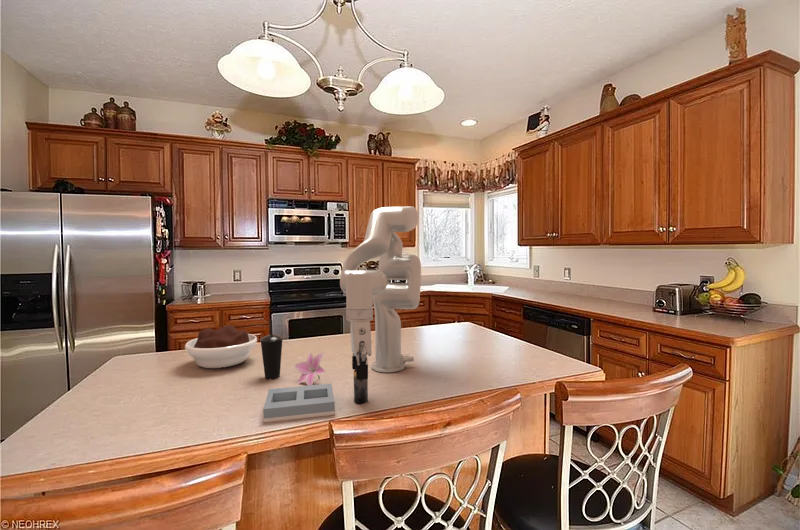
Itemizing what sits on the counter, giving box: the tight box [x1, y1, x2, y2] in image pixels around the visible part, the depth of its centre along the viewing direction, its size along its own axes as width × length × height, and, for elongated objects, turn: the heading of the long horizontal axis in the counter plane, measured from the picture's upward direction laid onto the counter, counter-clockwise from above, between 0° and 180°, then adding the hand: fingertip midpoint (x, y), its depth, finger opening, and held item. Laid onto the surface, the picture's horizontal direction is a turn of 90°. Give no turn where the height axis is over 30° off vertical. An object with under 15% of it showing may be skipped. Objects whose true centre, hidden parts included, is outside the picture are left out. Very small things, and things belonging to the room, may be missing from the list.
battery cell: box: [353, 369, 369, 405], centre depth 109 cm, size 4×4×10 cm
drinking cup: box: [259, 319, 284, 380], centre depth 129 cm, size 8×8×20 cm
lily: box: [294, 351, 326, 386], centre depth 125 cm, size 12×12×10 cm
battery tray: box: [262, 383, 336, 423], centre depth 105 cm, size 18×14×4 cm
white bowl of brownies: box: [184, 324, 258, 369], centre depth 144 cm, size 25×25×15 cm
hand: (359, 373), depth 108 cm, fingers open, 9 cm apart
